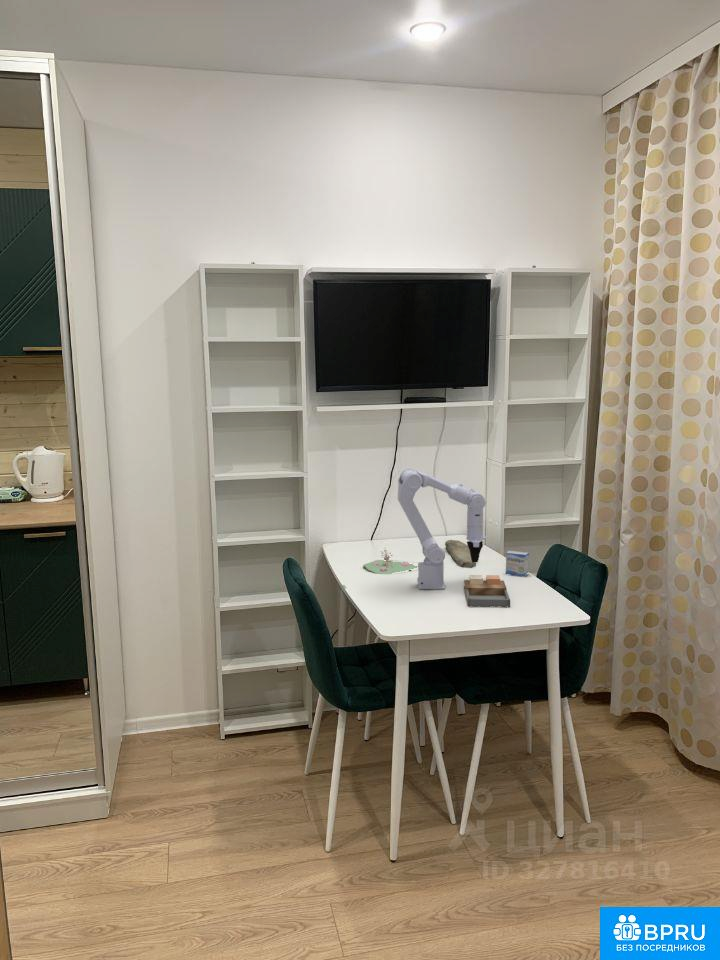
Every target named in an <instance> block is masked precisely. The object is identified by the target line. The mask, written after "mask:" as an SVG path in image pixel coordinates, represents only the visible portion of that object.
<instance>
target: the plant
mask: <svg viewBox="0 0 720 960" xmlns="http://www.w3.org/2000/svg"><path fill="white" fill-rule="evenodd" d="M384 553H385V554H384ZM390 556H391V557H393V554H391V552H389V554H388V551H387V550H386V548H384V551H383V552H381V556H380V557H381V558H383V559H375V560H373V562H372V561H370V563H369V562H367V563H364V564H363V567H364V568H365V569H366V570H368V571H369V572H371V573H373V574H374V573H375V574H377V573H378V575H393V574H392V573H395V572H400V571H401V572H402V571H406V570H409V569H414V568H417V567H418V566H414V565H413V564H409V563H408V562H409V561H402V562H403V563H402V562H393V561H394V560H390V558H391V557H390ZM384 560H386V561H384Z"/></svg>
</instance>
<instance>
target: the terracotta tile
mask: <svg viewBox="0 0 720 960" xmlns="http://www.w3.org/2000/svg"><path fill="white" fill-rule="evenodd" d="M485 578H486V579H485V580H486V582H487V584H500V580H501V577H500V575H499V574H498V575H496V574H488V575H487V574H486V577H485Z"/></svg>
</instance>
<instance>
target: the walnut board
mask: <svg viewBox="0 0 720 960" xmlns="http://www.w3.org/2000/svg"><path fill="white" fill-rule="evenodd" d="M463 586H464V587H463V588H464V589H463V590H464V594H466V589H468V591H469V595H486V596H504V590H507V588H508V587H507V585H506V583H505V580H503V579H502V580H501V579H500V584H487V582H486V579H483V584H470V581H469V579H467V580H466V579H464V585H463ZM507 591H508V590H507Z"/></svg>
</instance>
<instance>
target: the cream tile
mask: <svg viewBox="0 0 720 960" xmlns="http://www.w3.org/2000/svg"><path fill="white" fill-rule="evenodd" d="M468 580H469V581H470V584H483V580H484V577H483V575H482V574H469V577H468Z"/></svg>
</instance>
